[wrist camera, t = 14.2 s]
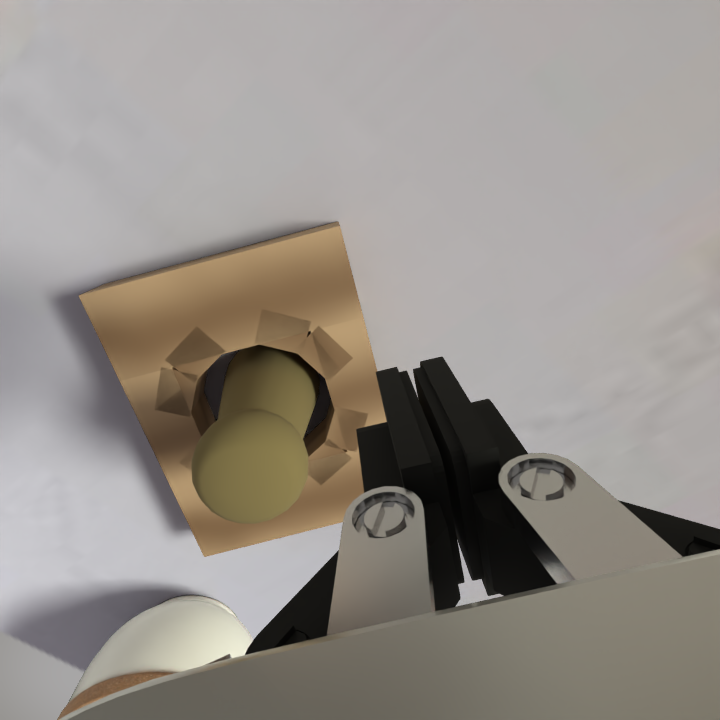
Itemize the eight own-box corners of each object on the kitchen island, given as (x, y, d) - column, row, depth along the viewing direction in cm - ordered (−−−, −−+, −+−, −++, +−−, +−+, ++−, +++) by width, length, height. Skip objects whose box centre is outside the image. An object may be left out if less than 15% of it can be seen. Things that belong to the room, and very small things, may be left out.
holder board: (104, 284, 27) (78, 295, 24) (338, 221, 27) (339, 225, 24) (214, 525, 33) (204, 556, 31) (404, 477, 33) (411, 504, 30)
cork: (335, 405, 31) (339, 516, 21) (252, 439, 31) (216, 564, 21) (295, 324, 29) (278, 403, 18) (206, 362, 29) (142, 459, 19)
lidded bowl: (143, 698, 39) (78, 881, 29) (83, 586, 35) (-19, 756, 24) (291, 668, 39) (279, 841, 29) (251, 552, 35) (219, 708, 24)
